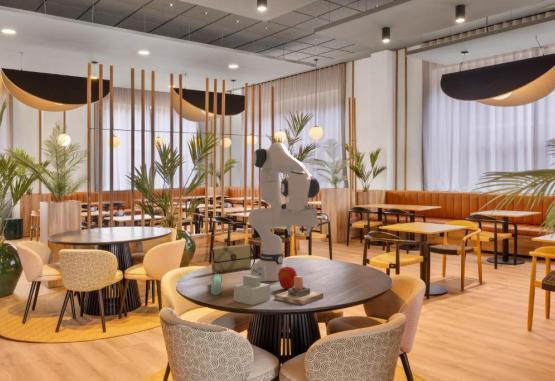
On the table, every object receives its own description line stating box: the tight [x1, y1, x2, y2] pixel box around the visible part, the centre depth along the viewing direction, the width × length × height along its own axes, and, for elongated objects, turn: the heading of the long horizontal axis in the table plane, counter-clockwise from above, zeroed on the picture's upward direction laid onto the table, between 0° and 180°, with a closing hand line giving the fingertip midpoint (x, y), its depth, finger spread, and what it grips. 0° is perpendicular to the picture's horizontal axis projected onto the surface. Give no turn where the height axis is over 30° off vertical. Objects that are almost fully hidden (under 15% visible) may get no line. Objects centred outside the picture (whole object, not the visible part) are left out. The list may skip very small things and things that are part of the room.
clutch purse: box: [210, 243, 256, 274], centre depth 282 cm, size 30×7×15 cm, turn 126°
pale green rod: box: [210, 273, 223, 296], centre depth 236 cm, size 6×6×25 cm
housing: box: [233, 274, 271, 306], centre depth 215 cm, size 12×12×11 cm
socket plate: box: [274, 286, 324, 306], centre depth 217 cm, size 16×16×4 cm
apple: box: [278, 265, 298, 291], centre depth 235 cm, size 9×9×12 cm
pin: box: [294, 275, 304, 291], centre depth 217 cm, size 4×4×8 cm
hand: (298, 235), depth 216 cm, fingers open, 8 cm apart
